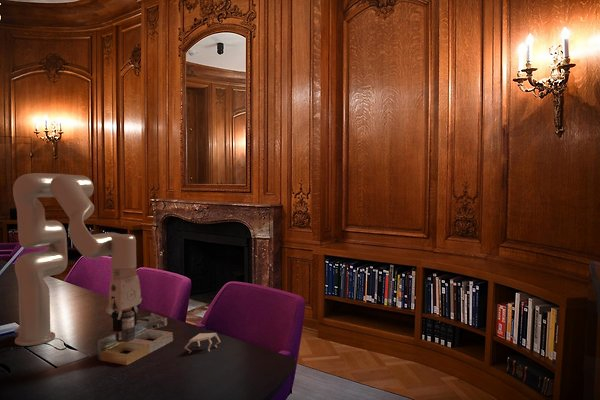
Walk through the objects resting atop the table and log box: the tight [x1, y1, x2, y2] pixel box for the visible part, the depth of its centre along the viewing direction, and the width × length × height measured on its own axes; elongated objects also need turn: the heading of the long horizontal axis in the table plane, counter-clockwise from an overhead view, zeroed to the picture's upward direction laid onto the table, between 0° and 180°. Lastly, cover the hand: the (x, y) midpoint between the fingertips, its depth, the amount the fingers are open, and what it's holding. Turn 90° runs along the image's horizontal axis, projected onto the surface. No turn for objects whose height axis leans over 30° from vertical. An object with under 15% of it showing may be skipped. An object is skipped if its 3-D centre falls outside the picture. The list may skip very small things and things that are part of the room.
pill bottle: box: [114, 308, 135, 342], centre depth 149 cm, size 6×6×11 cm
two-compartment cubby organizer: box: [97, 321, 174, 366], centre depth 156 cm, size 12×24×6 cm, turn 160°
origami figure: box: [183, 332, 221, 354], centre depth 156 cm, size 12×8×5 cm
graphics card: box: [137, 312, 168, 330], centre depth 181 cm, size 17×4×12 cm
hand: (125, 327), depth 149 cm, fingers closed on pill bottle, 6 cm apart
